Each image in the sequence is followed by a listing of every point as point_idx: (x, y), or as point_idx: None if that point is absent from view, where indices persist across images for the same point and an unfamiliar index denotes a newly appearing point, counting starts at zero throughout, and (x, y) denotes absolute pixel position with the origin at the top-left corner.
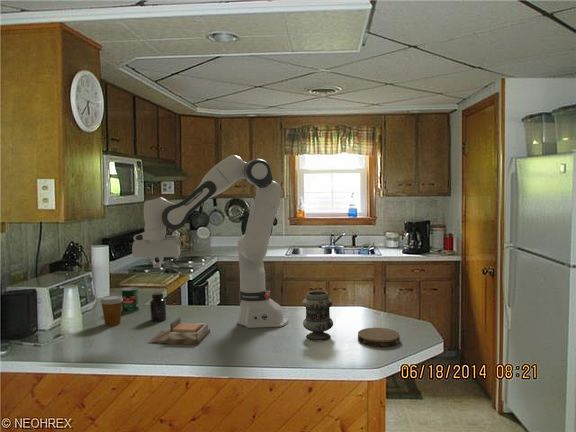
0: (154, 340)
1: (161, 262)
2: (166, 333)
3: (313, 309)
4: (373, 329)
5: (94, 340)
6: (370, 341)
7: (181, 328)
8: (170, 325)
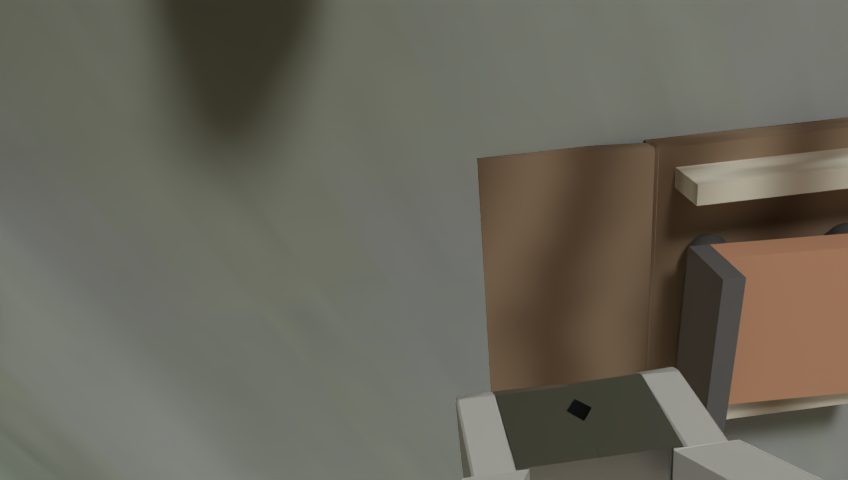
0: (536, 384)
1: (760, 461)
2: (570, 251)
3: None
4: None
5: (78, 449)
6: None
7: (772, 384)
8: None
